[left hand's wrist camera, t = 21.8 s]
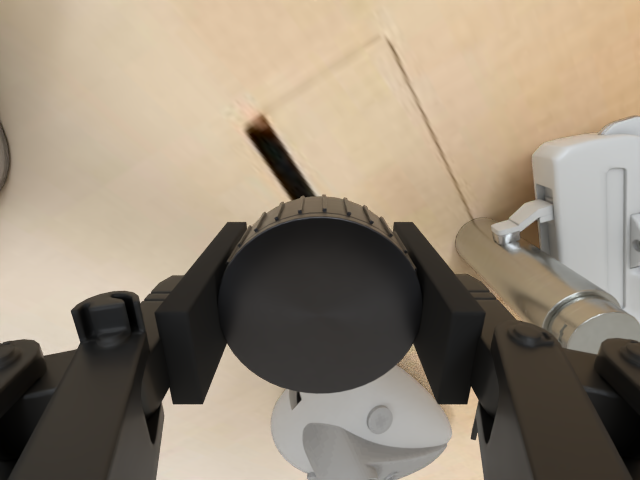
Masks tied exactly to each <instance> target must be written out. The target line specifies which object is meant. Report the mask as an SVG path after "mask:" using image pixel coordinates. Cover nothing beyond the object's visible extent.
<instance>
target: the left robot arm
mask: <svg viewBox="0 0 640 480" xmlns="http://www.w3.org/2000/svg"><path fill="white" fill-rule="evenodd" d="M8 167H9V153H8V146H7V141H6V138H5V135H4V132H3V129H2V127H1V125H0V190H1V188H2V186H3V184H4V182H5V180H6V177H7V173H8ZM246 230H247V225H246V222H227V224H226V225H225V226H224V227H223V228H222V230H221V231H220V232H219V233H218V235H217V236H216V237H215V238H214V240H213V241H212V242H211V243H210V244H209V246H208V247H207V248H206V249H205V251H204V252H203V253H202V254H201V256H200V257H199V258H198V259H197V261H196V262H195V263H194V264H193V265H192V267H191V268H190V269H189V270H188V272H187V273H186V274H185V275H184V276H171V277H169V278H167V279H165V280H164V281H162V282H160V283H159V284H158V285H157V286H156V287H155V288H154V289H153V290H152V291H151V294H149V295H148V296H147V297H146V298H145V299H144V301H142V302H141V303H140V301H139V296H138V295H136V294H135V293H133V292H128V291H113V292H108V293H103V294H99V295H96V296H94V297H91V298H88V299H86V300H84V301H83V302H81V303H79V304H77V305H76V306H75V307H74V308H73V309H72V310H71V313H72V316H73V320H74V323H75V326H76V330H77V333H78V336H79V339H80V345H79V347H78V348H77V349H76V350H72V351H66V352H61V353H56V354H51V355H46V356H43V353H42V350H41V347H40V345H39V343H37V342H36V341H34V340H25V339H23V340H15V341H7V342H3V343H2V344H1V343H0V480H156V475H157V468H158V460H159V453H160V445H161V438H162V430H163V422H164V411H163V406H162V400H163V398H164V396H165V394H166V393H167V391H168V389H169V387H170V392H171V397H172V402H173V404H203V402H204V400H205V397H206V395H207V392H208V390H209V387H210V385H211V382H212V380H213V377H214V374H215V372H216V369H217V367H218V364H219V362H220V359H221V357H222V354H223V352H224V349H225V347H226V344H227V342H226V340H225V338H224V336H223V334H222V330H221V327H220V322H219V315H218V306H217V297H218V290H219V286H220V280H221V279H222V276H223V274H224V272H225V270H226V268H227V266H228V265H226V262H227V260H228V259H229V257H230V256H231V254H232V252H233V251H234V249H235V247H236V246H237V244H238V242H239V241H240V240H241V238H242V237H243V235H244V233H245V232H246ZM394 231H395V232H396V233H397V235H398V237H399V238H400V240H401V242H402V243H403V245H404V246H405V248H406V250H407V251H408V253H407V254H408V255H409V257H410V259H411V260H412V262H413V263H414V265H415V267H416V268H417V272H416V273H417V276H418V279H419V281H420V284H421V289H422V294H423V309H422V317H421V324H420V329H419V331H418V334H417V336H416V339H415V341H414V343H413V344H414V346H415V349H416V351H417V354H418V356H419V359H420V361H421V364H422V366H423V369H424V371H425V374H426V376H427V379H428V381H429V384H430V387H431V389H432V392H433V394H434V397H435V399H436V402H437V404H467V403H468V398H469V393H470V388H471V387H472V389H473V390H474V392H475V394H476V396H477V398H478V400H479V401H478V406H477V410H476V415H475V419H474V424H473V429H472V434H471V439H473V440H476V436H477V433H478V437H479V444H480V452H481V459H482V467H483V474H484V480H640V342H638V341H636V340H632V339H622V338H610V339H606V340H604V341H603V342H602V343H601V345H600V348H599V351H598V354H592V353H587V352H582V351H577V350H572V349H567V348H563V347H562V346H561V344H560V342H559V341H558V340H557V339H556V338H555V336H554V335H552V334H551V333H549V332H548V331H546V330H545V329H543V328H541V327H539V326H536V325H534V324H531V323H527V322H523V321H517V320H516V319H515V318H514V317H513V316H512V314H511V313H510V312H509V311H508V310H507V309H506V308H505V307H504V306H503V305H502V304H501V303H500V302H499V300H496V297H495V296H494V295H493V294H492V293H491V292H489V290H488V289H487V288H486V286H485V285H484V284H483V283H482V282H481V281H479V280H477V279H475V278H473V277H472V276H470V275H468V274H454V273H453V271H452V270H451V269H450V268H449V266H448V265H447V264H446V263H445V261H444V260H443V259H442V258H441V257H440V255H439V254H438V253H437V252H436V250H435V249H434V248H433V247H432V245H431V244H430V243H429V242H428V241H427V239H426V238H425V237H424V236H423V234H422V233H421V232H420V231H419V229H418V228H417V227H416V226H415V225H414V223H413V222H394V227H393V232H394Z"/></svg>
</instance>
